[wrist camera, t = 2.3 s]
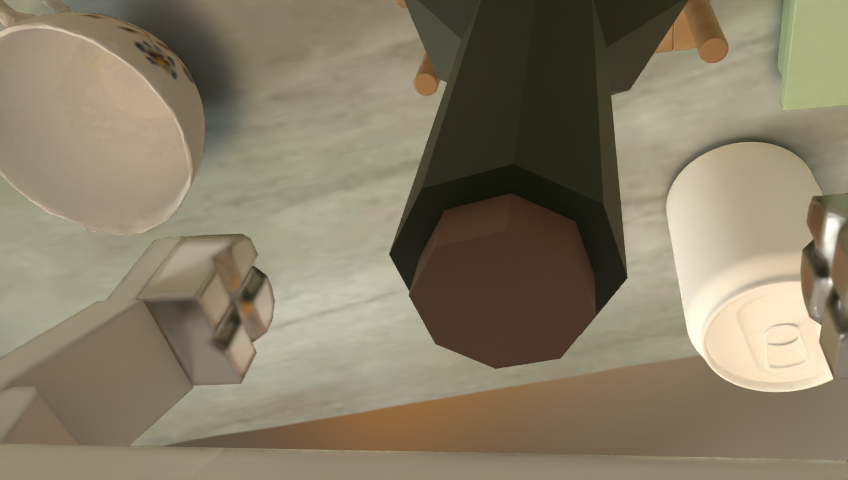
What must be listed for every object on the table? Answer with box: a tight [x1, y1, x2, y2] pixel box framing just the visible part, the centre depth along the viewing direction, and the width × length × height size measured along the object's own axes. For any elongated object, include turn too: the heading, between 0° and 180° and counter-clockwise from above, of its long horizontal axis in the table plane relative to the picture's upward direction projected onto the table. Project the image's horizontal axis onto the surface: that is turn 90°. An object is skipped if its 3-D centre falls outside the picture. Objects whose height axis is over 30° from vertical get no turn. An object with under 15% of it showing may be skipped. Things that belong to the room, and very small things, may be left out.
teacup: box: [0, 0, 205, 235], centre depth 40 cm, size 15×12×8 cm
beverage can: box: [666, 142, 833, 392], centre depth 37 cm, size 8×8×12 cm
